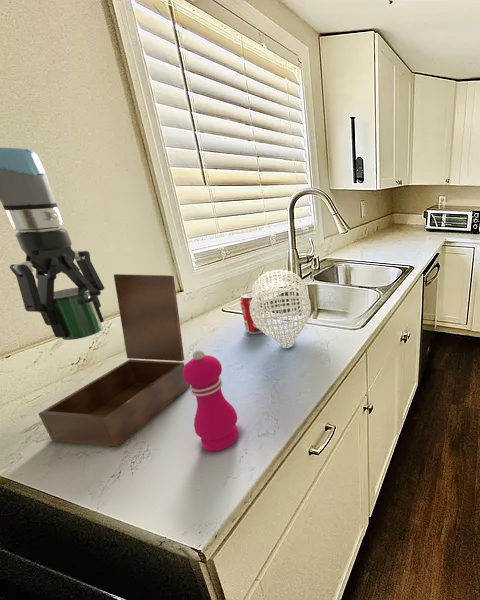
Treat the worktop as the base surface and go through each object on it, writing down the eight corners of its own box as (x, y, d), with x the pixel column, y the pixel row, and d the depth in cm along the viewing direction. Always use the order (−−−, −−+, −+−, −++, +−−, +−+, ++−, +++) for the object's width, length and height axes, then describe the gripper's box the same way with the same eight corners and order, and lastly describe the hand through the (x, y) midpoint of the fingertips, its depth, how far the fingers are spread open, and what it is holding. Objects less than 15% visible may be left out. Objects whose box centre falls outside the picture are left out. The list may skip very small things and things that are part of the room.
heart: (261, 331, 109) (249, 267, 101) (308, 324, 114) (301, 262, 106) (258, 377, 84) (243, 296, 76) (319, 365, 89) (310, 288, 81)
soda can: (255, 337, 105) (247, 299, 100) (241, 331, 109) (234, 295, 104) (273, 328, 111) (267, 293, 106) (260, 324, 114) (254, 289, 110)
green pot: (45, 339, 73) (26, 298, 70) (80, 325, 80) (64, 286, 77) (85, 341, 72) (68, 299, 69) (117, 326, 79) (103, 287, 76)
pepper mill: (219, 458, 60) (193, 365, 53) (191, 448, 62) (162, 357, 55) (249, 431, 66) (229, 344, 59) (222, 422, 68) (200, 338, 61)
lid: (171, 275, 74) (173, 275, 75) (113, 274, 75) (116, 274, 76) (181, 361, 78) (184, 360, 79) (127, 358, 79) (130, 357, 80)
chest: (118, 447, 63) (106, 418, 60) (52, 441, 64) (37, 413, 62) (190, 385, 81) (183, 362, 78) (137, 382, 82) (129, 359, 80)
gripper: (-5, 238, 58) (46, 351, 66) (103, 223, 77) (133, 312, 85) (-41, 238, 59) (14, 349, 67) (75, 223, 77) (107, 311, 86)
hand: (81, 328), depth 76 cm, fingers closed on green pot, 7 cm apart
